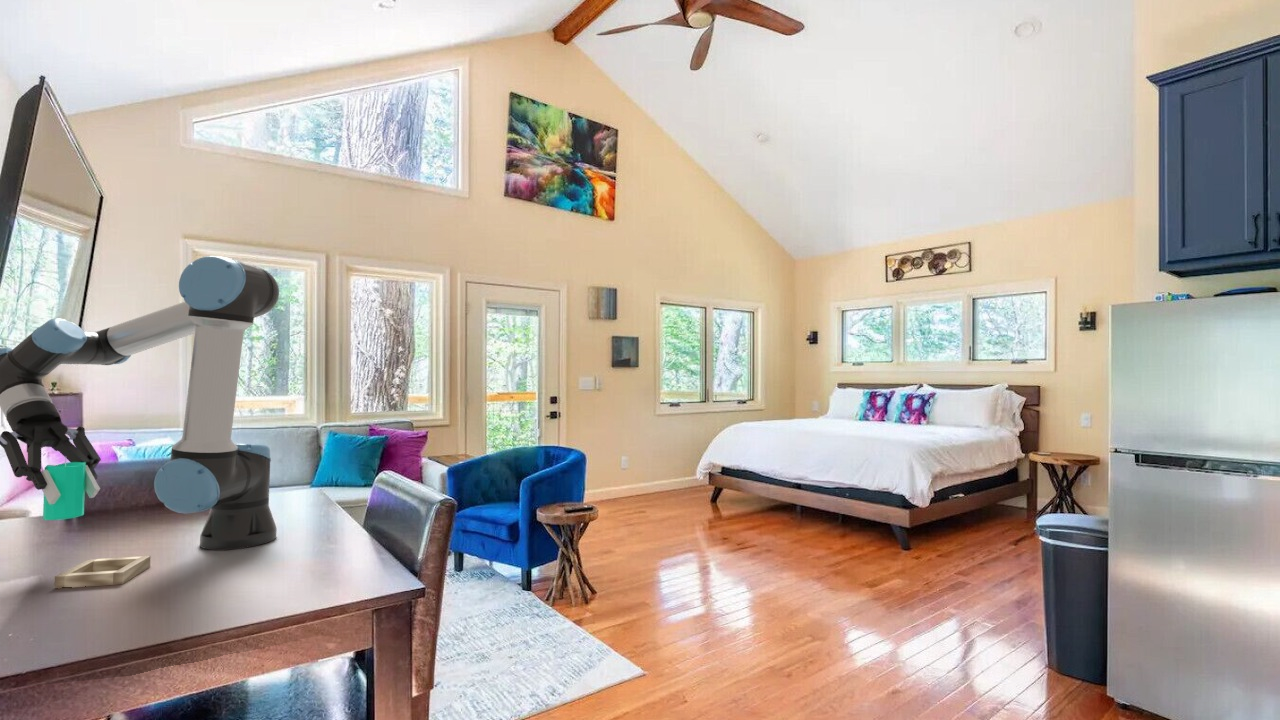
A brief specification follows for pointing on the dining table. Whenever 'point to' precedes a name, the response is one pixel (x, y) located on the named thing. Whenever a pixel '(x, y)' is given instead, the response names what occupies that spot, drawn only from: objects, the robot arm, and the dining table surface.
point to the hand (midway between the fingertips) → (75, 496)
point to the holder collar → (102, 572)
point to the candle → (66, 491)
